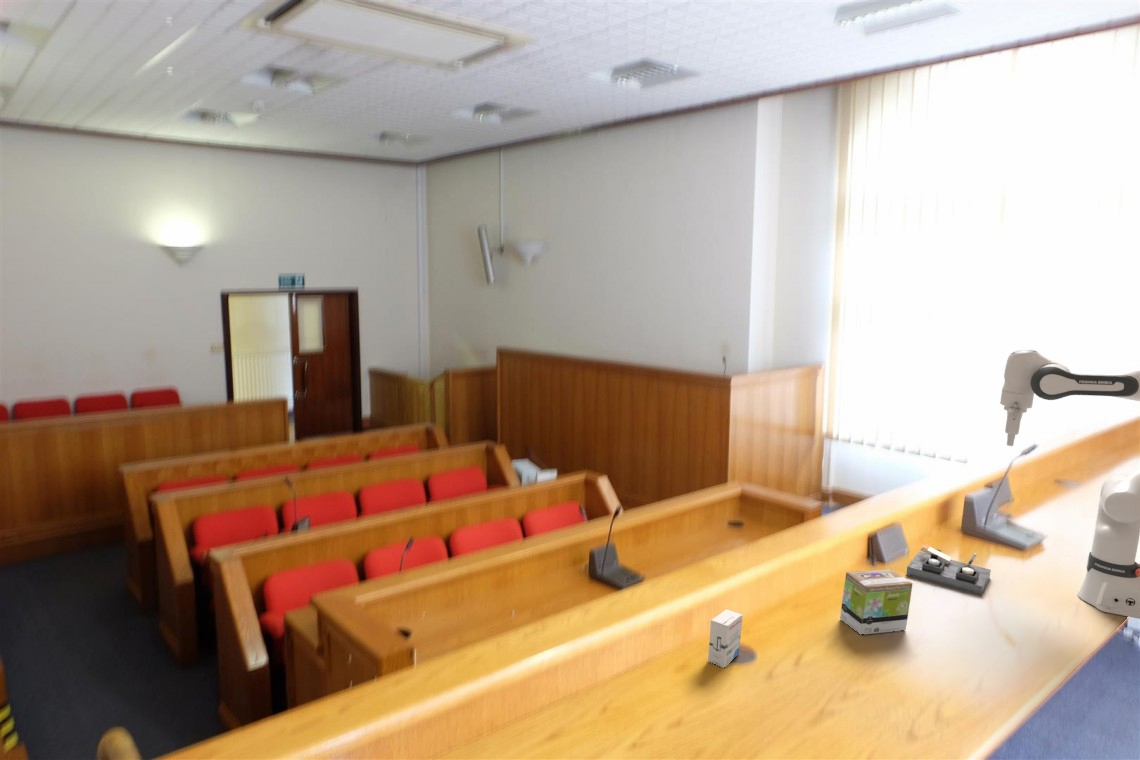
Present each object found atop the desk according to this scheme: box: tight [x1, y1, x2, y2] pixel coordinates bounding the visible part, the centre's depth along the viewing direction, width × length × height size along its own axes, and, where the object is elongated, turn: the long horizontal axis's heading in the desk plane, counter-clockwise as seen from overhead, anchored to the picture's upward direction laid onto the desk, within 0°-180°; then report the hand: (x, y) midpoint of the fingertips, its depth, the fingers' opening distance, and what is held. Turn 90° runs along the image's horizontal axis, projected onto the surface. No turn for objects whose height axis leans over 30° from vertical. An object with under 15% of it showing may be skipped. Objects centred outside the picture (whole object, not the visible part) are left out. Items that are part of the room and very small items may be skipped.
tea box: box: [839, 568, 913, 636], centre depth 215 cm, size 15×10×15 cm
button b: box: [928, 559, 939, 566], centre depth 248 cm, size 3×3×1 cm
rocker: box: [920, 543, 952, 564], centre depth 255 cm, size 9×4×2 cm, turn 54°
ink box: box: [707, 608, 743, 669], centre depth 195 cm, size 9×5×12 cm, turn 141°
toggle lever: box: [966, 553, 978, 567], centre depth 249 cm, size 1×1×5 cm
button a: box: [962, 567, 974, 575], centre depth 242 cm, size 3×3×1 cm
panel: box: [906, 548, 992, 596], centre depth 249 cm, size 22×16×6 cm
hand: (1010, 442), depth 245 cm, fingers open, 8 cm apart
